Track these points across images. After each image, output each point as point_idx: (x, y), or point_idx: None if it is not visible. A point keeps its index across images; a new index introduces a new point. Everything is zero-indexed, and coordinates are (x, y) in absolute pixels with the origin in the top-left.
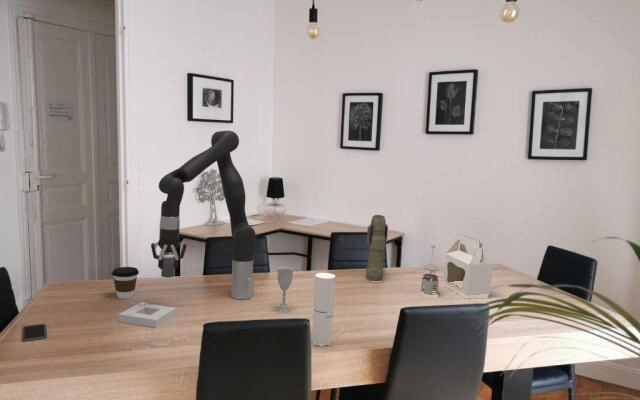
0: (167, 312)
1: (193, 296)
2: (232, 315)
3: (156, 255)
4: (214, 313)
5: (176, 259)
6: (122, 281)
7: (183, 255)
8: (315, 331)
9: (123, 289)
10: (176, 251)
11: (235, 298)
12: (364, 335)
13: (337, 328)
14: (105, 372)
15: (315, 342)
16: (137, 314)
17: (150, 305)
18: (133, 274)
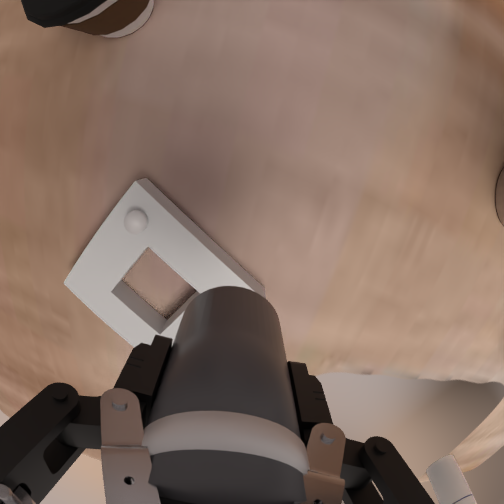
0: None
1: (394, 103)
2: (421, 345)
3: (76, 452)
4: (389, 316)
5: None
6: (65, 26)
7: (367, 496)
8: (433, 486)
9: (90, 32)
10: (337, 494)
11: (497, 212)
12: (492, 444)
13: (494, 426)
14: (98, 458)
15: (427, 474)
16: (117, 312)
17: (168, 234)
18: (94, 3)
